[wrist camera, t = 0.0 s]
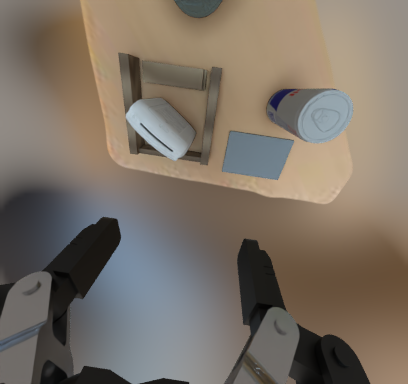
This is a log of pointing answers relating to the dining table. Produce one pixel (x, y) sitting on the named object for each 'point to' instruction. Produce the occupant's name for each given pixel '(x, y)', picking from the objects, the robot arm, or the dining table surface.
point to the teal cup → (198, 7)
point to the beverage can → (311, 113)
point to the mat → (256, 155)
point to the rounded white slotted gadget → (161, 126)
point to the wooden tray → (133, 94)
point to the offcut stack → (174, 75)
